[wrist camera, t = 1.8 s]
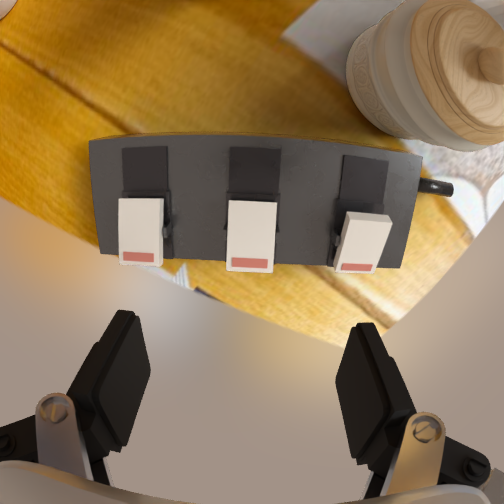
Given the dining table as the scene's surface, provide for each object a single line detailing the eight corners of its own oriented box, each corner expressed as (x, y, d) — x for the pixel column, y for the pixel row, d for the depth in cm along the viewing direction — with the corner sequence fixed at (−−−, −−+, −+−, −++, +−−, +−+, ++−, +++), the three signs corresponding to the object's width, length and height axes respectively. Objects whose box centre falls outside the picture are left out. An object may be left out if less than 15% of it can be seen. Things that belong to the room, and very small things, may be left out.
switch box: (443, 158, 29) (477, 171, 23) (423, 251, 35) (450, 278, 28) (110, 135, 29) (78, 143, 23) (118, 235, 34) (92, 262, 28)
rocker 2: (275, 202, 27) (277, 202, 25) (271, 269, 28) (272, 273, 26) (230, 200, 27) (228, 200, 25) (227, 267, 28) (226, 271, 26)
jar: (385, 159, 30) (488, 204, 14) (317, 58, 26) (378, -4, 10) (462, 107, 26) (575, 121, 10) (405, 12, 22) (499, -39, 6)
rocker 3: (387, 213, 25) (392, 223, 24) (370, 264, 29) (373, 274, 28) (346, 210, 25) (350, 219, 24) (332, 262, 29) (335, 273, 28)
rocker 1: (164, 198, 27) (159, 198, 25) (163, 263, 28) (159, 267, 26) (124, 198, 27) (118, 198, 25) (125, 261, 28) (118, 264, 26)
